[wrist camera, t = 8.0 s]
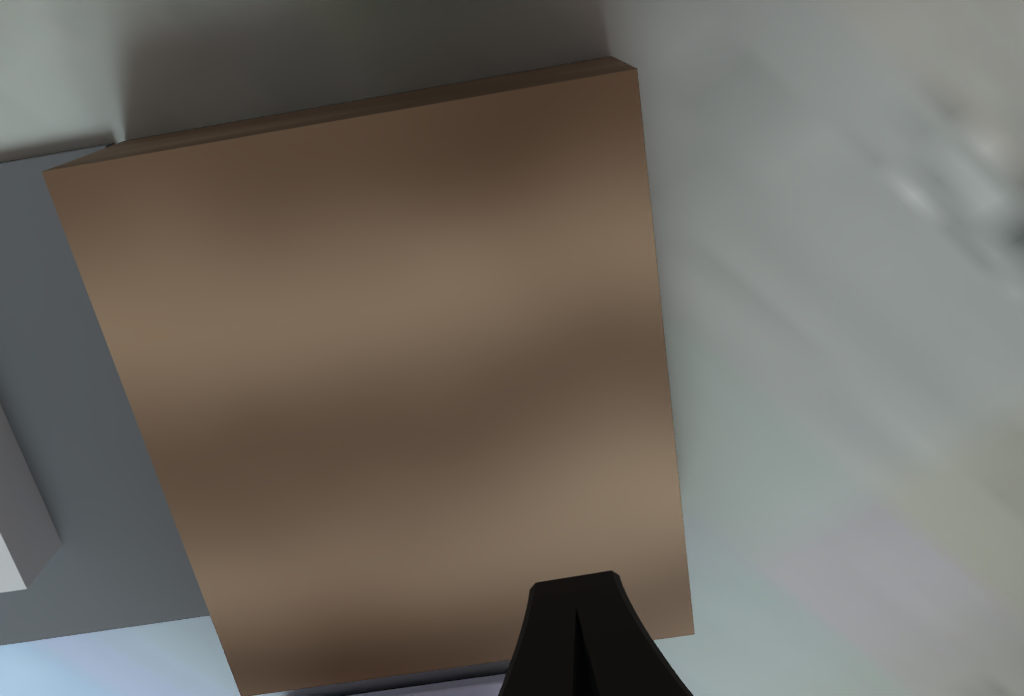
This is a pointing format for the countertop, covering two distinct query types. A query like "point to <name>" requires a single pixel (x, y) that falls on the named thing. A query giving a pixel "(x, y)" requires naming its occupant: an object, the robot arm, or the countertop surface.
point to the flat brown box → (395, 365)
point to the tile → (21, 518)
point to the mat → (77, 438)
